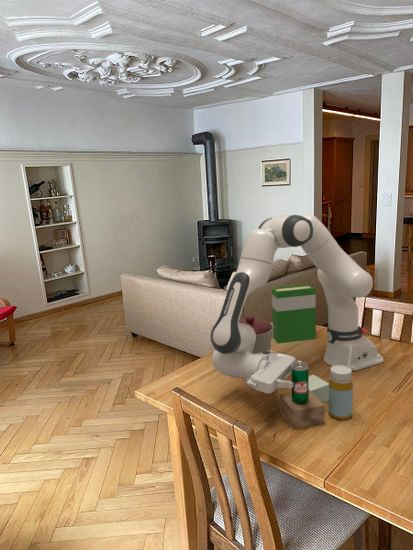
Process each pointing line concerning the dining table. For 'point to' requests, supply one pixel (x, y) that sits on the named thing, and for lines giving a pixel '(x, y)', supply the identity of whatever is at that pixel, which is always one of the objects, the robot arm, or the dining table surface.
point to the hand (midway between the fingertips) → (299, 378)
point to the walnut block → (302, 411)
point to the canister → (260, 333)
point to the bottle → (340, 392)
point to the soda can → (300, 382)
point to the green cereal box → (294, 313)
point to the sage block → (319, 388)
